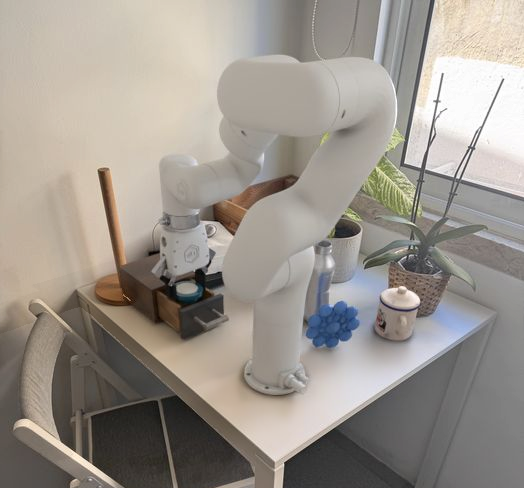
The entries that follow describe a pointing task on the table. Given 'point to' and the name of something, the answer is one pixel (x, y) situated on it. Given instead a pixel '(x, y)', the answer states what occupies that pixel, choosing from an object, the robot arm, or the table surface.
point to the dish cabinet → (145, 285)
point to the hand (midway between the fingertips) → (186, 292)
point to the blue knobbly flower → (332, 324)
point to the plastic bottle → (319, 279)
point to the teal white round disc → (188, 291)
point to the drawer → (191, 312)
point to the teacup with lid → (396, 313)
